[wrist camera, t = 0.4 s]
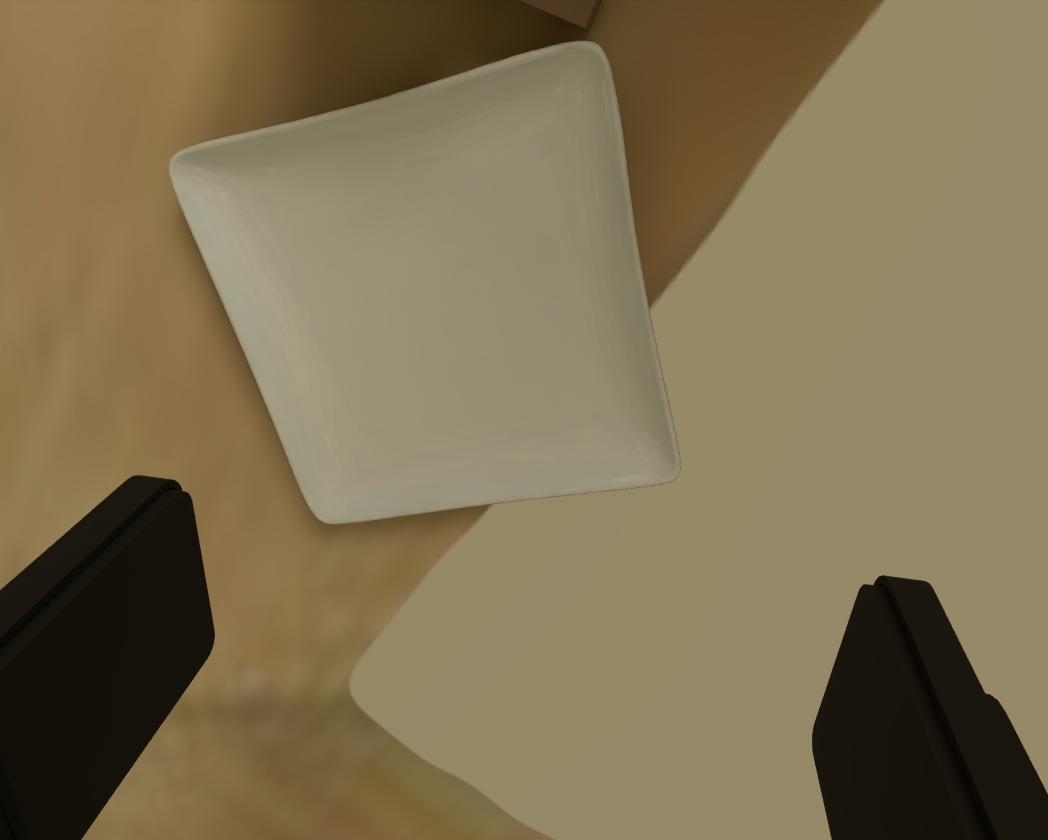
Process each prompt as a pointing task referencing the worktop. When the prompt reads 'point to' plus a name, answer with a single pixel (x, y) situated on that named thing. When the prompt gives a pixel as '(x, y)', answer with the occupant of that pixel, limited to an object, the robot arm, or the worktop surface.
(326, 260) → the salad plate
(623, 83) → the worktop surface
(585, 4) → the parts tray
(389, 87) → the worktop surface
